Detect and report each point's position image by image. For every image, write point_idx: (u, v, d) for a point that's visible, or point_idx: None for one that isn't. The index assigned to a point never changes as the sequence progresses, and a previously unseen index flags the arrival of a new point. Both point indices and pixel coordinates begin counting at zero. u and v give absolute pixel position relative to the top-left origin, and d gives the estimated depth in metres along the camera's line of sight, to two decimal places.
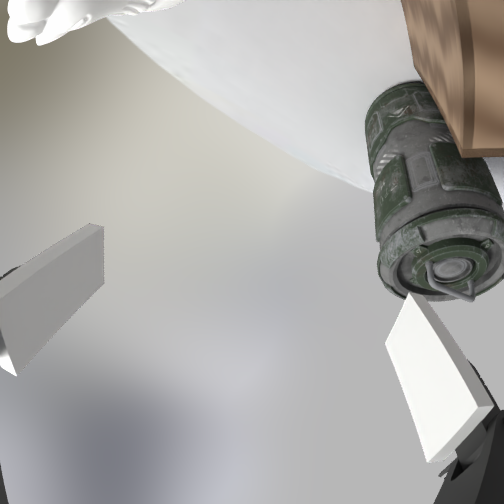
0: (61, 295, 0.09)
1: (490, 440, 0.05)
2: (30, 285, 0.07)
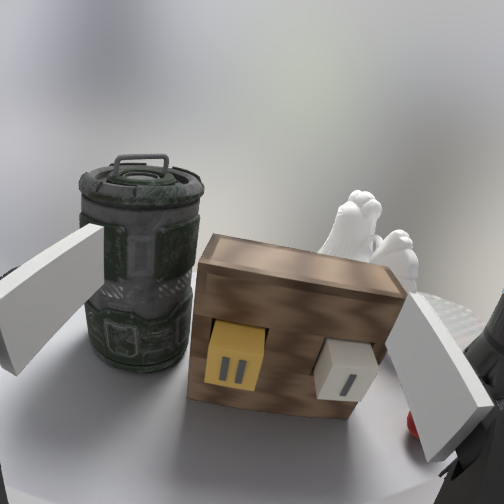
0: (61, 295, 0.09)
1: (490, 440, 0.05)
2: (30, 285, 0.07)
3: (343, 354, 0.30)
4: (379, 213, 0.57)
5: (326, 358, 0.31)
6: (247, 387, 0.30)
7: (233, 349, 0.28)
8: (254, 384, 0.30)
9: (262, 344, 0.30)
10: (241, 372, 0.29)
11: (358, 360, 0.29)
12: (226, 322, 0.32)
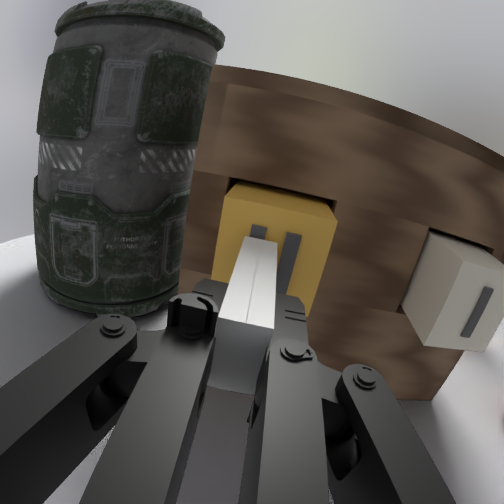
0: None
1: (266, 379, 0.07)
2: None
3: (466, 252, 0.15)
4: None
5: (438, 263, 0.15)
6: None
7: (276, 206, 0.14)
8: (311, 299, 0.15)
9: (328, 211, 0.15)
10: (288, 264, 0.15)
11: (489, 263, 0.14)
12: (256, 185, 0.18)
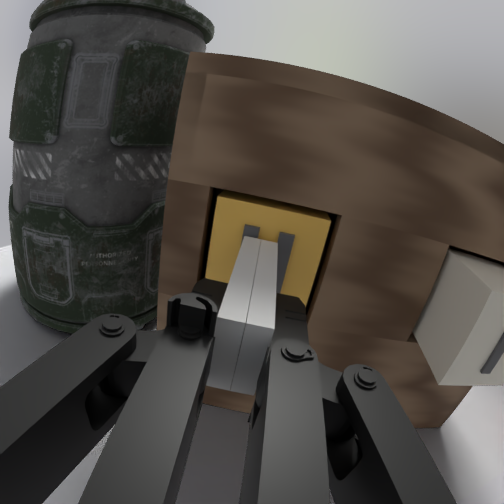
0: None
1: (267, 380, 0.07)
2: None
3: (491, 276, 0.12)
4: None
5: (459, 289, 0.12)
6: None
7: (269, 206, 0.14)
8: (305, 299, 0.15)
9: (323, 211, 0.15)
10: (282, 264, 0.15)
11: None
12: None
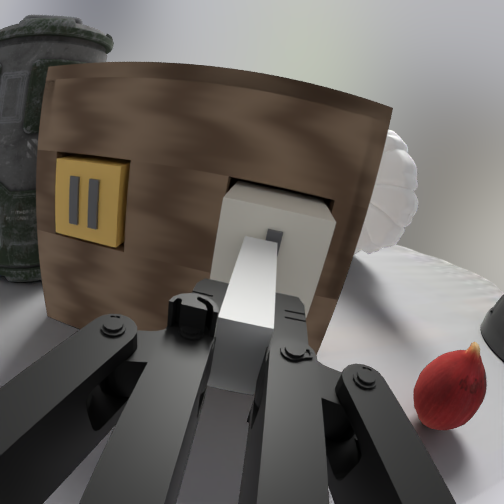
0: None
1: (266, 379, 0.07)
2: None
3: (259, 195, 0.16)
4: None
5: None
6: (106, 239, 0.19)
7: (84, 161, 0.17)
8: (114, 231, 0.18)
9: None
10: (93, 203, 0.17)
11: (287, 205, 0.15)
12: None
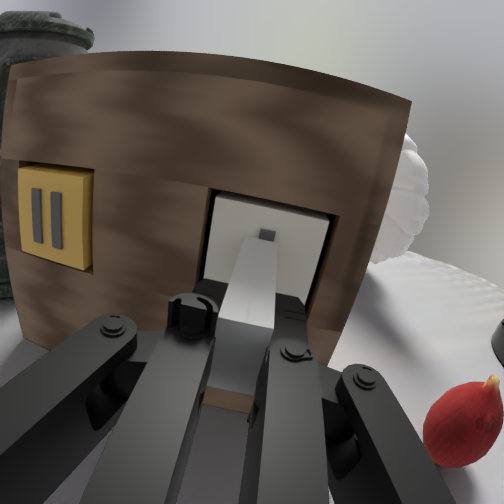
0: None
1: (266, 379, 0.07)
2: None
3: None
4: None
5: None
6: (72, 260, 0.15)
7: (46, 171, 0.14)
8: (80, 252, 0.15)
9: None
10: (56, 219, 0.14)
11: (281, 204, 0.15)
12: None
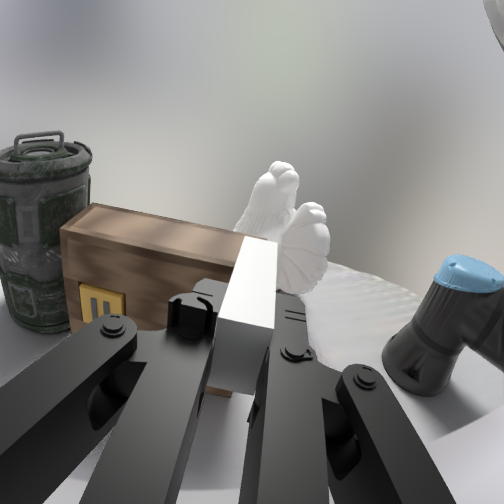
0: None
1: (266, 379, 0.07)
2: None
3: None
4: (296, 185, 0.56)
5: None
6: None
7: (98, 291, 0.31)
8: None
9: None
10: (107, 313, 0.32)
11: None
12: None
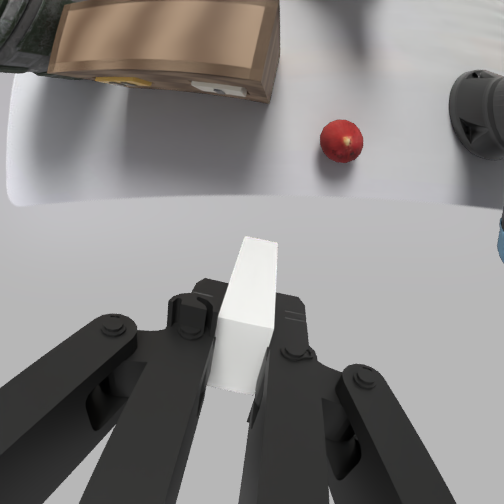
0: None
1: (267, 379, 0.07)
2: None
3: None
4: None
5: None
6: (144, 85, 0.33)
7: (111, 79, 0.28)
8: (146, 85, 0.32)
9: None
10: (129, 85, 0.31)
11: None
12: None
